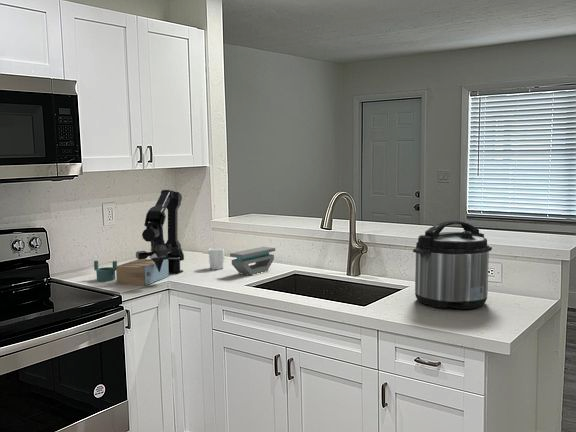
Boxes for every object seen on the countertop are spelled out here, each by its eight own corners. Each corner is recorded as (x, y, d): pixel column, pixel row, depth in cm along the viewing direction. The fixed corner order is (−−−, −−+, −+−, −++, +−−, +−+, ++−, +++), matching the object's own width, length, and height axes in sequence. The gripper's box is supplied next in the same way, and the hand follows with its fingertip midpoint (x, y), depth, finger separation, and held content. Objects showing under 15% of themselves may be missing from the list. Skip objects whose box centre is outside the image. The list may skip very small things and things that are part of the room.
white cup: (222, 270, 292) (221, 250, 291) (207, 269, 293) (206, 250, 292) (226, 267, 300) (226, 247, 299) (211, 266, 301) (211, 247, 300)
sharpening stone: (242, 277, 273) (242, 254, 272) (230, 275, 278) (229, 253, 277) (275, 269, 293) (275, 247, 292) (263, 267, 298) (263, 246, 297)
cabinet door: (167, 275, 277) (166, 259, 276) (170, 275, 277) (170, 259, 276) (144, 284, 258) (144, 266, 257) (148, 284, 258) (147, 267, 257)
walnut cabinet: (140, 275, 281) (139, 258, 280) (166, 276, 277) (165, 260, 276) (116, 283, 262) (116, 266, 261) (144, 285, 258) (143, 267, 257)
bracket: (118, 280, 270) (117, 261, 269) (97, 282, 265) (97, 263, 265) (113, 277, 278) (112, 258, 277) (93, 279, 273) (92, 260, 272)
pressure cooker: (483, 294, 238) (486, 217, 235) (498, 313, 210) (501, 225, 207) (408, 292, 242) (410, 216, 239) (413, 310, 214) (414, 224, 211)
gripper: (140, 242, 250) (143, 278, 252) (182, 237, 258) (184, 272, 261) (134, 239, 259) (136, 273, 262) (175, 234, 268) (177, 267, 270)
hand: (159, 271), depth 263 cm, fingers closed
